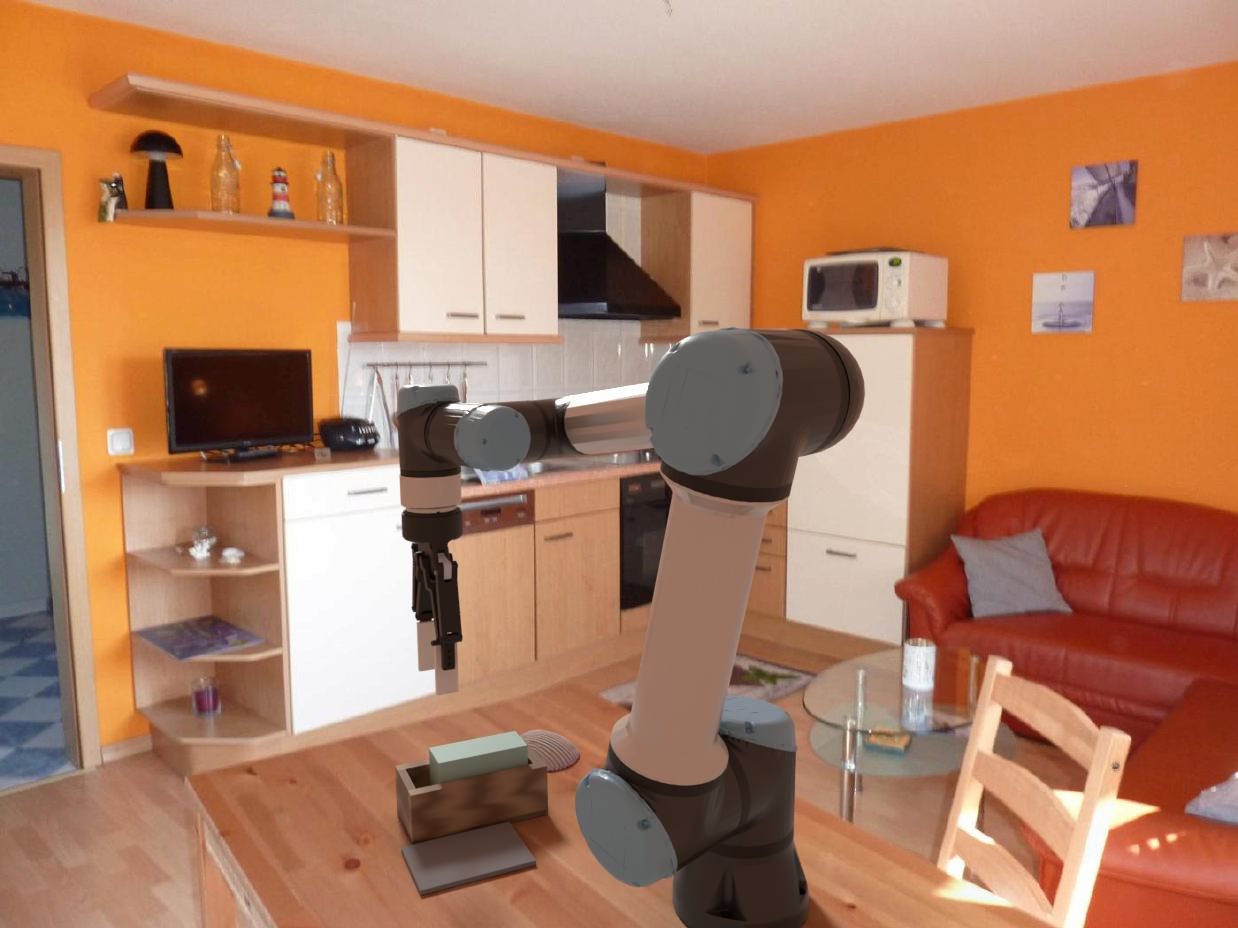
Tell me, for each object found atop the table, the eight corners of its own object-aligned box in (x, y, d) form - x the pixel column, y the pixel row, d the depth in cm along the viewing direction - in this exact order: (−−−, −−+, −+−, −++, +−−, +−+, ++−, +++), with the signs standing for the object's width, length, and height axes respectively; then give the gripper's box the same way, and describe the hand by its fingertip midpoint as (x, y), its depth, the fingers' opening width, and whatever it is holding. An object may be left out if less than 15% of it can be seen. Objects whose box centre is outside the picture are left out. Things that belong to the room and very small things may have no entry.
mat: (536, 864, 111) (535, 860, 111) (420, 895, 105) (420, 890, 105) (509, 825, 120) (509, 821, 120) (401, 851, 114) (401, 847, 114)
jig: (525, 784, 131) (524, 739, 130) (548, 814, 123) (547, 765, 122) (397, 813, 123) (395, 765, 122) (412, 846, 115) (410, 795, 114)
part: (515, 765, 128) (515, 730, 127) (528, 780, 123) (527, 745, 122) (430, 783, 122) (428, 747, 122) (439, 800, 118) (438, 763, 117)
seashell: (511, 724, 145) (573, 710, 144) (519, 756, 145) (581, 743, 145) (503, 751, 135) (570, 737, 134) (512, 786, 135) (578, 772, 135)
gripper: (486, 519, 108) (491, 704, 111) (439, 492, 127) (445, 651, 130) (422, 525, 104) (429, 715, 107) (384, 496, 123) (391, 659, 126)
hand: (437, 680), depth 119 cm, fingers open, 8 cm apart
